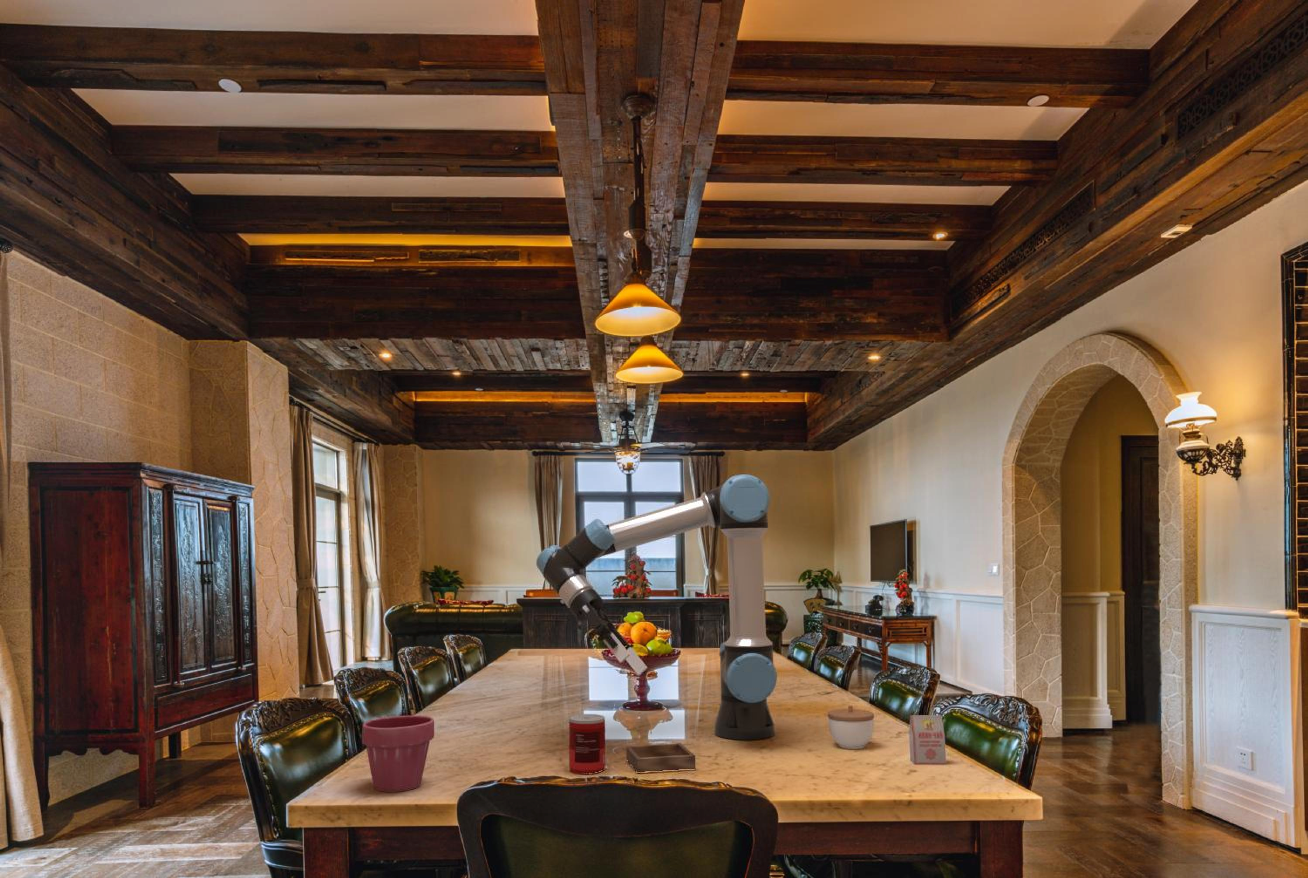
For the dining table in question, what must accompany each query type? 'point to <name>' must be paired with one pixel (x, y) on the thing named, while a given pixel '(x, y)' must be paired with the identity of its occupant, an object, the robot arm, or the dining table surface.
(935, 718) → the white tea box
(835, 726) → the lidded jar
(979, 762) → the dining table surface
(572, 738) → the canned food
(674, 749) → the walnut tray
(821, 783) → the dining table surface
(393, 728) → the plant pot
